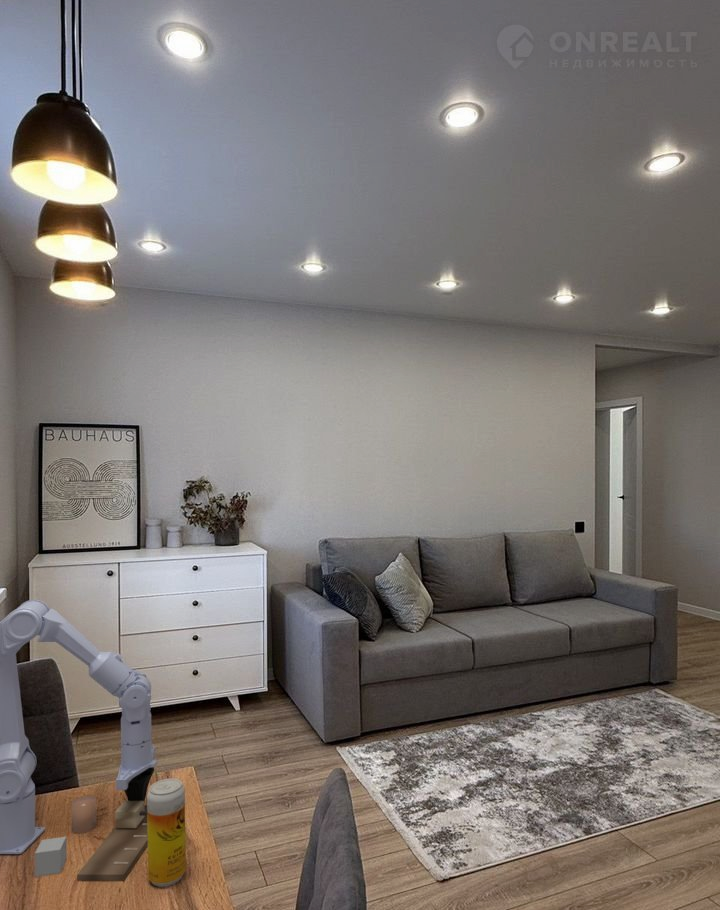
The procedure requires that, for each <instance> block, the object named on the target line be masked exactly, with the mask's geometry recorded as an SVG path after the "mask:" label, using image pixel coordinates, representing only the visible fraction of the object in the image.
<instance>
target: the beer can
mask: <svg viewBox="0 0 720 910" xmlns="http://www.w3.org/2000/svg"><path fill="white" fill-rule="evenodd" d="M185 790H186V789H185V787H184V785H183V782H182V780H180V779H178V778H175V777H174V778H171V777H170V778H164V779H161V780H157V781H155V782H154V783H152V784H151V785H150V787H149V790H148V791H147V792H148V793H146V805H147V832H148V845H147V878H148V880H149V881H150V883H151V884H152V885H154V886H156V887H161V888H164V887H171V886H173V885H174V884H176V883H178V882H179V881H180V880H181V879H182V877H183V875H184V874H185V873H186V870H187V857H186V856H187V852H186V850H187V848H186V845H187V844H186V795H185V794H186V793H185Z"/></svg>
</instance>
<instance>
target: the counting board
mask: <svg viewBox="0 0 720 910" xmlns="http://www.w3.org/2000/svg"><path fill="white" fill-rule="evenodd" d="M144 811H147V804H144ZM146 848H148V832H147V816H145V817H144V818H143V819H142V821H141V822H140V823H139V825H138V826H137V828H115V827H114V828H113V829H112V830H111V832H110V833H109V834H107V837H106V838H105V839H104V840H103V841H102V843H101V844H100V845H99V847H98V848H97V849H96V850H95V852H94V853H93V854H92V855H91V856H90V857H89V859H88V860H87V862H86V863H85V864H84V866H83V867H82V868H81V869H80V871H78V873H77V874H76V878H77V879H76V881H79V882H80V881H81V882H88V881H89V882H91V881H94V882H101V881H103V882H107V881H109V882H113V881H114V882H118V881H119V882H124V881H125V880H126V879H127V877H128V875H129V873H130V872H131V871H132V869H133V868H134V866H135V865H136V864H137V861H138V860H139V859H140V858H141V855H142V854H143V853H144V852H145V850H146Z"/></svg>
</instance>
